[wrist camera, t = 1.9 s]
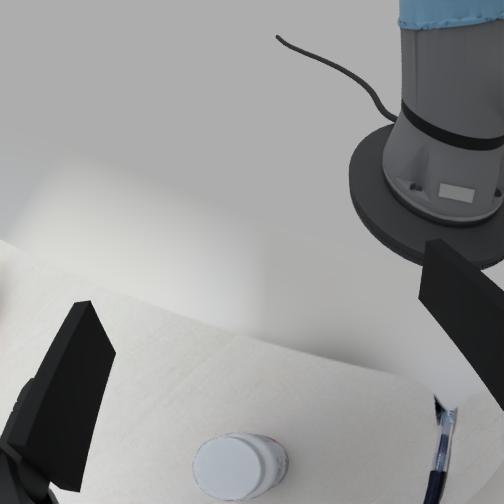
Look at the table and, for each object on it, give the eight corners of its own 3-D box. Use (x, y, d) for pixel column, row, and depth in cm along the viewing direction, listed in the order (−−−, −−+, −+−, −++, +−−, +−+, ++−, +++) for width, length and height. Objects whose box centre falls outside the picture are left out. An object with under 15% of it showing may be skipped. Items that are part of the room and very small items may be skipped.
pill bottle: (218, 456, 23) (171, 454, 16) (265, 424, 23) (235, 413, 17) (251, 500, 20) (215, 519, 13) (301, 468, 21) (285, 478, 14)
